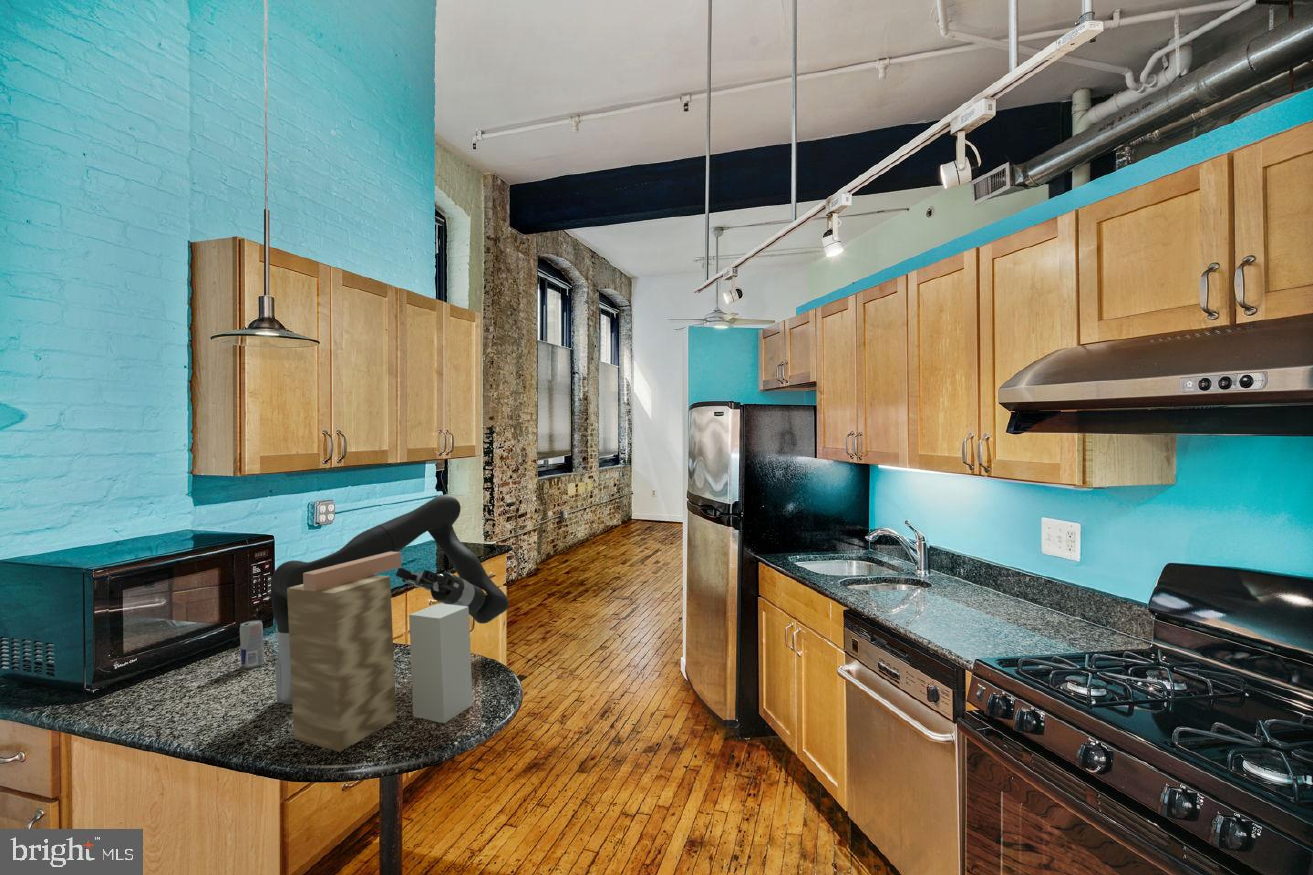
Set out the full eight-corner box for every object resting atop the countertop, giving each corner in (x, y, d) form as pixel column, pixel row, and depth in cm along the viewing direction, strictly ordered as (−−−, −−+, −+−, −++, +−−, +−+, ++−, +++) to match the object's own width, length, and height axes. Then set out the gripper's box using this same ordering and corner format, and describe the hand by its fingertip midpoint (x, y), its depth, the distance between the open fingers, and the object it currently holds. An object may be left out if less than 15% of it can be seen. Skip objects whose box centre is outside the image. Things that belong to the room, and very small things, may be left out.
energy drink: (248, 662, 171) (246, 620, 171) (268, 660, 171) (266, 619, 171) (237, 669, 165) (235, 626, 165) (257, 668, 166) (255, 625, 166)
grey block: (443, 699, 141) (438, 603, 141) (472, 705, 138) (468, 606, 137) (413, 716, 133) (409, 614, 133) (444, 723, 130) (439, 618, 129)
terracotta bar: (390, 566, 142) (390, 551, 142) (401, 566, 141) (400, 552, 141) (303, 590, 122) (302, 573, 122) (315, 591, 121) (314, 574, 121)
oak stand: (352, 709, 138) (346, 572, 137) (396, 719, 132) (390, 576, 132) (294, 739, 125) (286, 588, 125) (340, 751, 119) (332, 593, 119)
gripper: (437, 575, 163) (395, 556, 150) (478, 578, 157) (438, 559, 145) (428, 602, 160) (384, 585, 147) (469, 607, 154) (427, 590, 141)
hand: (410, 572), depth 146 cm, fingers open, 8 cm apart
